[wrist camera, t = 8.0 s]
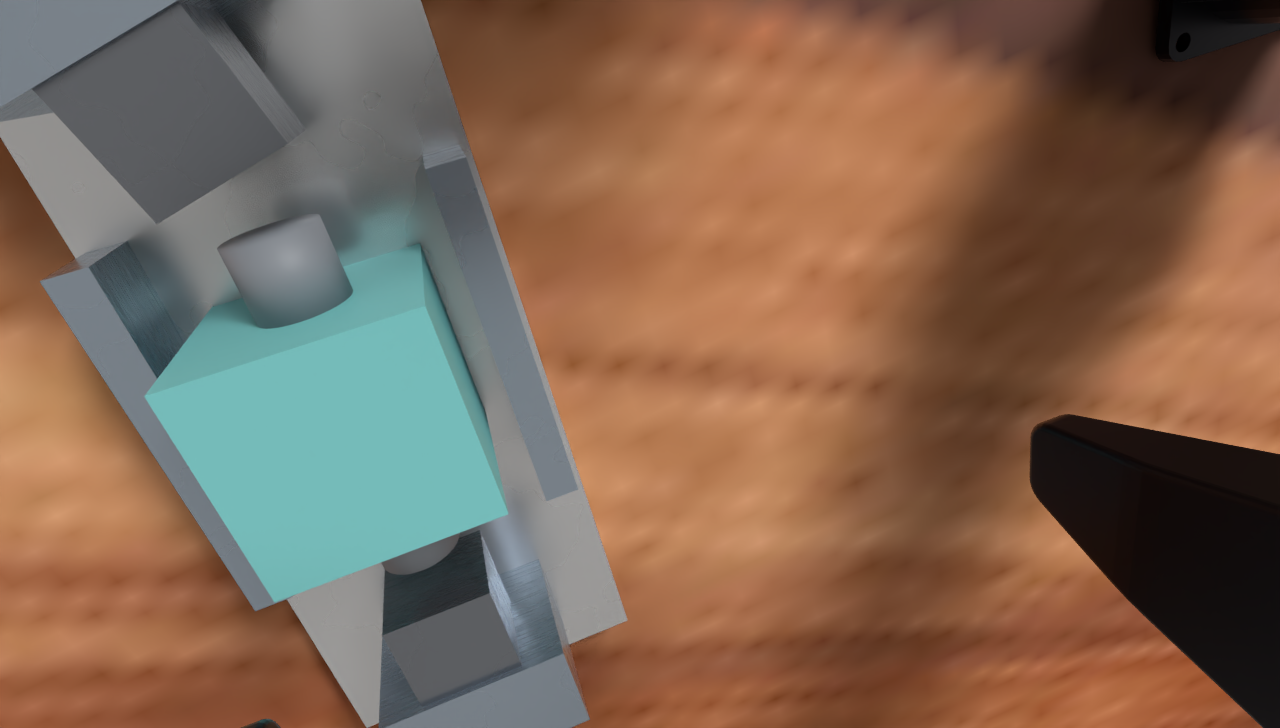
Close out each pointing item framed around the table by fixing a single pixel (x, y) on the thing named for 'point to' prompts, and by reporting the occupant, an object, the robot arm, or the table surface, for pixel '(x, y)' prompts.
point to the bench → (359, 230)
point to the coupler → (331, 412)
